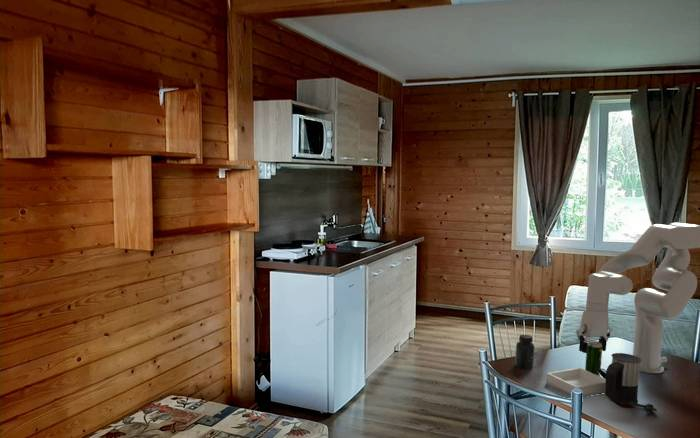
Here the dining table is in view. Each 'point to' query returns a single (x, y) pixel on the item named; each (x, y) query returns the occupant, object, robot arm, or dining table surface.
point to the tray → (576, 381)
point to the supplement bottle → (524, 352)
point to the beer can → (593, 357)
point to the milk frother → (624, 380)
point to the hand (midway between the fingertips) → (592, 350)
